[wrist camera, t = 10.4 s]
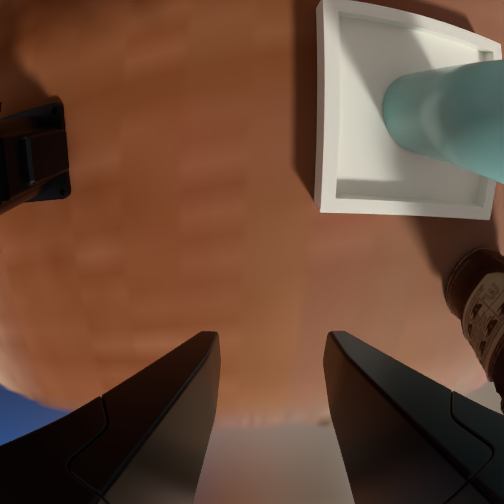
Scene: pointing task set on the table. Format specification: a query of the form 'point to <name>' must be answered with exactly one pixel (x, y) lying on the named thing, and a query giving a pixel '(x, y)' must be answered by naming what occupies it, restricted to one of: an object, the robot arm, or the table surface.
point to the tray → (371, 117)
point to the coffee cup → (481, 309)
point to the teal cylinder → (451, 115)
